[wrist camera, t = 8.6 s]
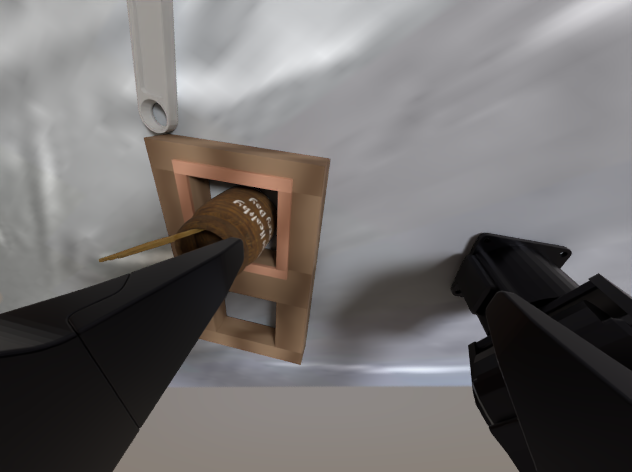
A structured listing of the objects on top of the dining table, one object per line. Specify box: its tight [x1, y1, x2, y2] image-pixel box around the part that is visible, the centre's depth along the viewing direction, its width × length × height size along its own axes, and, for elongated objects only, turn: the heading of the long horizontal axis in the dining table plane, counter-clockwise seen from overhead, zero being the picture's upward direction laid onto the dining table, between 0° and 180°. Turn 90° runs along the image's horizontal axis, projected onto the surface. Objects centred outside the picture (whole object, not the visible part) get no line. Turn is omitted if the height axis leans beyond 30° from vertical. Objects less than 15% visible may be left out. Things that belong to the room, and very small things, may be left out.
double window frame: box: [144, 134, 330, 365], centre depth 24 cm, size 14×24×3 cm, turn 174°
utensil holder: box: [99, 186, 277, 277], centre depth 17 cm, size 6×6×12 cm
